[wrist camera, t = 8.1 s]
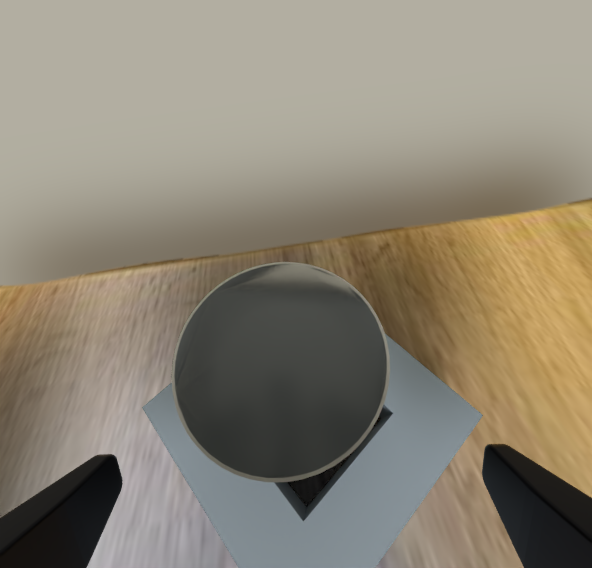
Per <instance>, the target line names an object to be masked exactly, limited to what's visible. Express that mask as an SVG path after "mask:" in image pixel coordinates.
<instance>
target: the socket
mask: <svg viewBox="0 0 592 568" xmlns="http://www.w3.org/2000/svg"><path fill="white" fill-rule="evenodd" d="M385 336H386V339H387V344H388V349H389V355H390V377H389V386H388V390H387V395H386V399H385V402H384V405H383V407H382V410H381V412H380V415H379V417H380V418H381V420H380V421H379V422H378V423H377V424H376V426H375V427H374V428H373V429H372V430H371V432H370V433H369V434H368V435H367V436H366V438H365V439H364V440H363V441H362V443H361V444H360V445H359V446H358V447H357V448H356V450H355V451H354V452H353V453H352V454H351V455H350V457H349V458H348V459H347V460H346V461H345V463H344V464H343V465H342V466H341V467H340V469H339V470H338V471H337V472H336V473H335V475H334V476H333V477H332V478H331V479H330V480H329V482H328V483H327V484H326V485H325V486H324V488H323V489H322V490H321V491H320V492H319V494H318V495H317V496H316V497H315V498H314V500H313V501H312V502H311V503H310V504H309V506H308V507H307V508H306V506H305V505H304V504H303V502H302V501H301V500H300V498H299V497H298V496H297V495H296V493H295V492H294V491H293V489H292V488H291V487H290V485H289V484H288V483H287V482H262V481H256V480H250V479H247V478H244V477H241V476H238V475H235V474H233V473H231V472H229V471H227V470H225V469H223V468H221V467H220V466H218V465H217V464H216V463H214V462H213V461H212V460H210V459H209V458H207V457H206V456H205V455H204V453H203V452H202V451H201V450H200V449H199V448H198V447H197V446H196V445H195V444H194V442H193V441H192V440H191V438H190V437H189V435H188V434H187V432H186V430H185V428H184V427H183V425H182V423H181V421H180V418H179V415H178V412H177V409H176V407H175V402H174V397H173V392H172V383H170V384H169V385H168V386H167V387H166V388H165V389H163V390H162V391H161V392H160V393H159V394H158V395H156V396H155V397H154V398H153V399H152V400H150V401H149V402H148V403H147V404H146V405H145V406H143V407H142V408H143V410H144V411H145V413H146V415H147V416H148V418H149V420H150V421H151V423H152V425H153V426H154V428H155V430H156V431H157V433H158V435H159V436H160V438H161V440H162V441H163V443H164V445H165V446H166V448H167V450H168V451H169V453H170V455H171V456H172V458H173V460H174V461H175V463H176V465H177V466H178V468H179V470H180V471H181V473H182V474H183V476H184V478H185V479H186V481H187V483H188V484H189V486H190V488H191V489H192V491H193V493H194V494H195V496H196V498H197V499H198V501H199V503H200V504H201V506H202V508H203V509H204V511H205V513H206V514H207V516H208V518H209V519H210V521H211V523H212V524H213V526H214V528H215V529H216V531H217V533H218V534H219V536H220V538H221V539H222V541H223V543H224V544H225V546H226V548H227V549H228V551H229V552H230V554H231V556H232V557H233V559H234V561H235V562H236V564H237V566H238V567H239V568H375V567H376V566H377V565H378V563H379V562H380V560H381V559H382V557H383V556H384V555H385V553H386V552H387V550H388V549H389V548H390V546H391V545H392V543H393V542H394V540H395V539H396V538H397V536H398V535H399V533H400V532H401V531H402V529H403V528H404V526H405V525H406V523H407V522H408V521H409V519H410V518H411V516H412V515H413V514H414V512H415V511H416V509H417V508H418V506H419V505H420V504H421V502H422V501H423V499H424V498H425V497H426V495H427V494H428V492H429V491H430V490H431V488H432V487H433V485H434V484H435V482H436V481H437V480H438V478H439V477H440V475H441V474H442V473H443V471H444V470H445V468H446V467H447V465H448V464H449V463H450V461H451V460H452V458H453V457H454V456H455V454H456V453H457V451H458V450H459V448H460V447H461V446H462V444H463V443H464V441H465V440H466V439H467V437H468V436H469V434H470V433H471V431H472V430H473V429H474V427H475V426H476V424H477V423H478V422H479V420H480V419H481V417H482V416H483V415H482V414H481V413H480V412H478V411H477V410H476V409H475V408H474V407H472V406H471V405H470V404H469V403H468V402H466V401H465V400H464V399H463V398H462V397H461V396H459V395H458V394H457V393H456V392H455V391H453V390H452V389H451V388H450V387H449V386H447V385H446V384H445V383H444V382H443V381H441V380H440V379H439V378H438V377H437V376H435V375H434V374H433V373H432V372H431V371H429V370H428V369H427V368H426V367H425V366H423V365H422V364H421V363H420V362H419V361H417V360H416V359H415V358H414V357H413V356H411V355H410V354H409V353H408V352H407V351H405V350H404V349H403V348H402V347H401V346H399V345H398V344H397V343H396V342H395V341H393V340H392V339H391V338H390V337H389V336H387V335H386V334H385Z"/></svg>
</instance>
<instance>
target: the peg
mask: <svg viewBox="0 0 592 568" xmlns="http://www.w3.org/2000/svg"><path fill="white" fill-rule="evenodd" d="M389 377H390V355H389V349H388V344H387V339H386V336H385V333H384V330H383V327H382V325H381V323H380V321H379V318H378V316H377V315H376V313H375V311H374V310H373V308H372V307H371V305H370V304H369V302H368V301H367V300H366V299H365V298H364V296H363V295H362V294H361V293H360V292H359V291H358V290H357V289H356V288H355V287H353V286H352V285H351V284H350V283H348V282H347V281H346V280H344V279H343V278H341V277H339V276H337V275H336V274H334V273H332V272H330V271H327V270H325V269H323V268H320V267H316V266H313V265H309V264H303V263H296V262H275V263H268V264H262V265H259V266H255V267H251V268H249V269H246V270H244V271H241V272H239V273H237V274H235V275H233V276H231V277H229V278H228V279H226V280H225V281H223V282H222V283H220V284H219V285H217V286H216V287H215V288H214V289H213V290H211V291H210V292H209V293H208V294H207V295H206V296H205V297H204V298H203V299H202V300H201V301H200V303H199V304H198V305H197V306H196V308H195V309H194V310H193V312H192V313H191V315H190V316H189V318H188V320H187V321H186V323H185V325H184V327H183V329H182V331H181V333H180V336H179V339H178V342H177V345H176V348H175V352H174V357H173V363H172V392H173V397H174V402H175V407H176V409H177V412H178V415H179V418H180V421H181V423H182V425H183V427H184V428H185V430H186V432H187V434H188V435H189V437H190V438H191V440H192V441H193V442H194V444H195V445H196V446H197V447H198V448H199V449H200V450H201V451H202V452H203V453H204V455H205V456H206V457H207V458H209V459H210V460H212V461H213V462H214V463H216V464H217V465H218V466H220V467H221V468H223V469H225V470H227V471H229V472H231V473H233V474H235V475H238V476H241V477H244V478H247V479H250V480H256V481H262V482H290V481H296V480H302V479H305V478H308V477H311V476H314V475H317V474H320V473H322V472H323V471H325V470H327V469H329V468H331V467H333V466H335V465H336V464H338V463H339V462H340V461H342V460H343V459H345V458H346V457H347V456H349V455H350V454H351V453H352V452H353V451H354V450H355V449H356V448H357V447H358V446H359V445H360V444H361V443H362V441H363V440H364V439H365V438H366V436H367V435H368V434H369V432H370V431H371V430H372V428H373V426H374V424H375V422H376V421H377V419H378V417H379V415H380V412H381V410H382V407H383V405H384V402H385V399H386V395H387V390H388V386H389Z"/></svg>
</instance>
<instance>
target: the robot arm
mask: <svg viewBox="0 0 592 568" xmlns="http://www.w3.org/2000/svg"><path fill="white" fill-rule="evenodd" d="M482 476H483V480H484V483H485V485H486V488H487V490H488V492H489V494H490V496H491V498H492V500H493V503H494V505H495V507H496V509H497V511H498V513H499V516H500V518H501V520H502V522H503V524H504V526H505V528H506V531H507V533H508V535H509V537H510V539H511V541H512V544H513V546H514V548H515V550H516V552H517V554H518V556H519V558H520V560H521V562H522V564H523V566H524V568H592V498H591V497H589V496H588V495H586V494H584V493H583V492H581V491H580V490H578V489H577V488H575V487H573V486H572V485H570V484H569V483H567V482H565V481H564V480H562V479H561V478H559V477H557V476H556V475H554V474H553V473H551V472H550V471H548V470H546V469H545V468H543V467H542V466H540V465H538V464H537V463H535V462H534V461H532V460H530V459H529V458H527V457H526V456H524V455H523V454H521V453H519V452H518V451H516V450H515V449H513V448H511V447H510V446H508V445H506V444H489V445H487V446H486V447H485V451H484V460H483V469H482ZM121 488H122V476H121V472H120V469H119V465H118V462H117V458H116V457H115V456H114V455H112V454H103V455H96V456H94V457H93V458H91V459H90V460H88V461H87V462H85V463H84V464H82V465H80V466H79V467H77V468H76V469H74V470H73V471H71V472H70V473H68V474H67V475H65V476H64V477H62V478H61V479H59V480H58V481H56V482H55V483H53V484H52V485H50V486H49V487H47V488H46V489H44V490H42V491H41V492H39V493H38V494H36V495H35V496H33V497H32V498H30V499H29V500H27V501H26V502H24V503H23V504H21V505H20V506H18V507H17V508H15V509H14V510H12V511H11V512H9V513H7V514H6V515H4V516H3V517H1V518H0V568H86V567H87V565H88V563H89V561H90V559H91V557H92V555H93V552H94V550H95V548H96V546H97V543H98V541H99V539H100V537H101V534H102V532H103V530H104V528H105V525H106V523H107V521H108V519H109V516H110V514H111V512H112V510H113V507H114V505H115V503H116V501H117V498H118V496H119V494H120V491H121Z"/></svg>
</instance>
